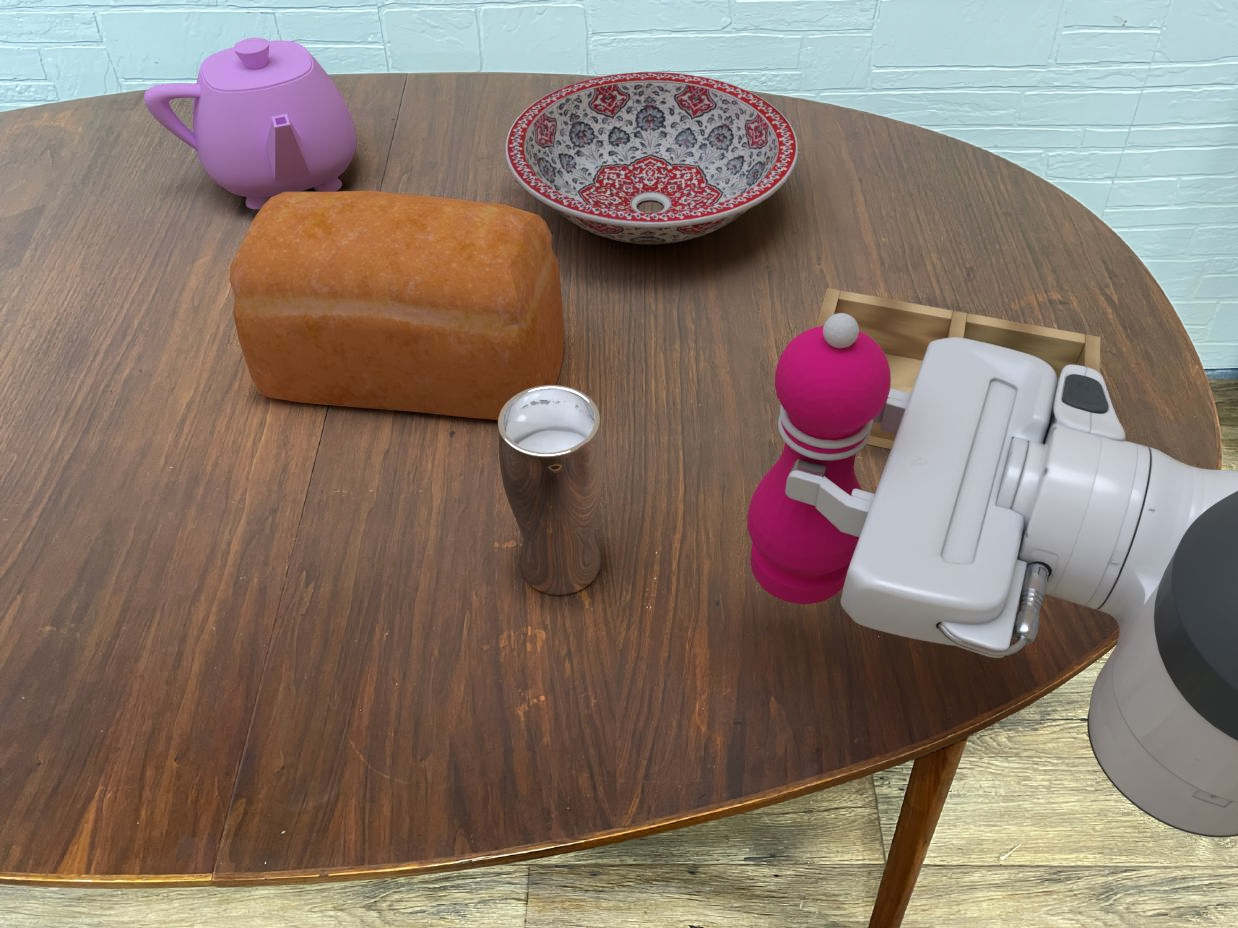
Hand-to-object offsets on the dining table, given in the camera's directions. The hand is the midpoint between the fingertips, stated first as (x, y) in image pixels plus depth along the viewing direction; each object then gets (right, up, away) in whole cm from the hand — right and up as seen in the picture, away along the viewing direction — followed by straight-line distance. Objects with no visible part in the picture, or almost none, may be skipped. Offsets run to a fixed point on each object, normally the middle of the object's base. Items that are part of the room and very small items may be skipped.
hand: (806, 439), depth 59 cm
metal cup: (-15, -9, +19) cm, 26 cm away
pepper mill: (+1, -8, +8) cm, 11 cm away
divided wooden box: (+17, +3, +30) cm, 34 cm away
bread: (-29, +7, +34) cm, 45 cm away
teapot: (-48, +28, +55) cm, 78 cm away
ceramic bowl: (-7, +25, +51) cm, 58 cm away
